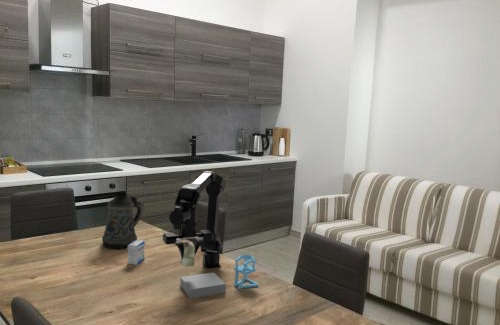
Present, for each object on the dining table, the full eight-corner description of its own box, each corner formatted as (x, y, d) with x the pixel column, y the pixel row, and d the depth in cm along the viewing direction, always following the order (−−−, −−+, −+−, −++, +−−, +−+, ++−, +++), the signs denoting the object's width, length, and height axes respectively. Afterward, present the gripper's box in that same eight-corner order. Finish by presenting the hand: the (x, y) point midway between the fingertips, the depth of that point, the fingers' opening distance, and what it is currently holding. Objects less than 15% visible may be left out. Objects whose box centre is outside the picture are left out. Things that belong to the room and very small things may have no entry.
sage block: (190, 261, 174) (191, 242, 173) (194, 266, 170) (194, 246, 169) (180, 262, 173) (181, 242, 172) (184, 267, 168) (184, 247, 167)
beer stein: (94, 247, 211) (94, 196, 207) (118, 235, 229) (118, 188, 226) (125, 252, 206) (125, 200, 203) (146, 240, 225) (147, 192, 221)
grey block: (213, 281, 179) (213, 272, 178) (225, 293, 168) (225, 283, 168) (180, 286, 173) (180, 277, 172) (190, 299, 162) (190, 289, 162)
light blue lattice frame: (230, 284, 176) (231, 255, 175) (246, 279, 182) (247, 251, 180) (242, 291, 170) (243, 261, 169) (258, 286, 176) (259, 257, 174)
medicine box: (136, 265, 191) (137, 246, 190) (127, 264, 192) (127, 244, 191) (144, 258, 199) (144, 240, 198) (135, 257, 200) (135, 239, 199)
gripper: (205, 212, 180) (204, 248, 182) (159, 215, 172) (159, 253, 174) (214, 219, 170) (213, 258, 172) (166, 223, 162) (165, 263, 164)
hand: (187, 258), depth 171 cm, fingers closed on sage block, 4 cm apart
